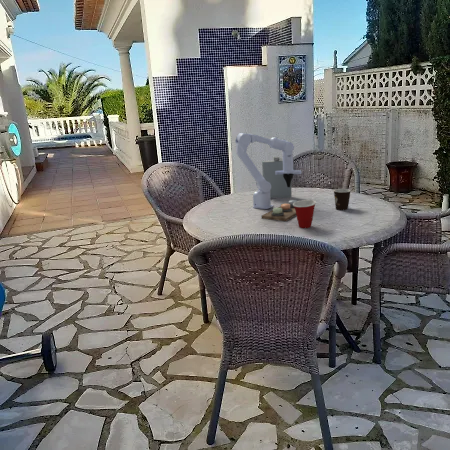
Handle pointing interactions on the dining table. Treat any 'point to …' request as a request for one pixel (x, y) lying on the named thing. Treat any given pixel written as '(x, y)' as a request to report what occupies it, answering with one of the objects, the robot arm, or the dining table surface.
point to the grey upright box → (276, 178)
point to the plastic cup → (304, 212)
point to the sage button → (277, 210)
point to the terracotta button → (285, 206)
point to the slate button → (292, 202)
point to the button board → (281, 214)
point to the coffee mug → (342, 198)
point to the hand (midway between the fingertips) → (288, 186)
